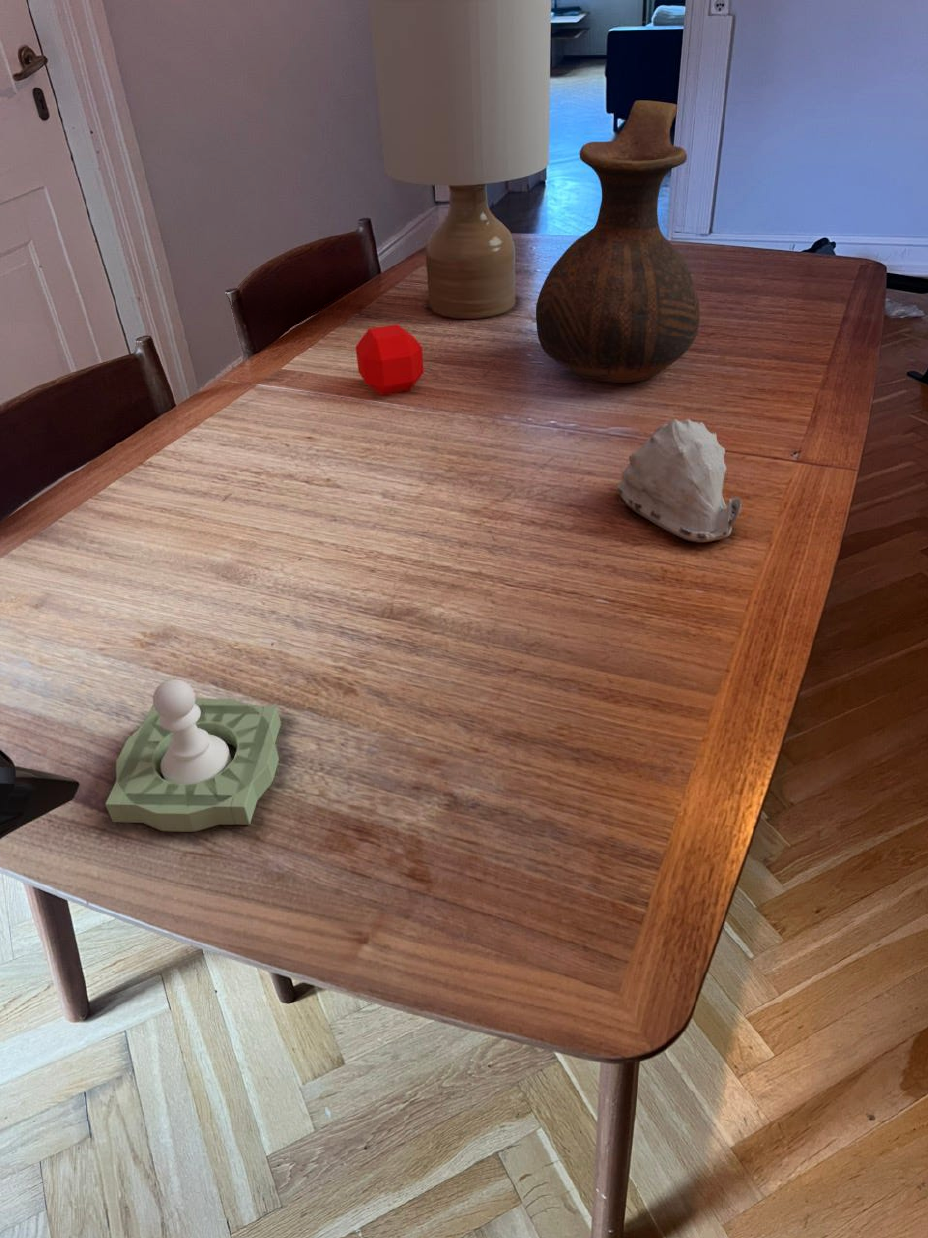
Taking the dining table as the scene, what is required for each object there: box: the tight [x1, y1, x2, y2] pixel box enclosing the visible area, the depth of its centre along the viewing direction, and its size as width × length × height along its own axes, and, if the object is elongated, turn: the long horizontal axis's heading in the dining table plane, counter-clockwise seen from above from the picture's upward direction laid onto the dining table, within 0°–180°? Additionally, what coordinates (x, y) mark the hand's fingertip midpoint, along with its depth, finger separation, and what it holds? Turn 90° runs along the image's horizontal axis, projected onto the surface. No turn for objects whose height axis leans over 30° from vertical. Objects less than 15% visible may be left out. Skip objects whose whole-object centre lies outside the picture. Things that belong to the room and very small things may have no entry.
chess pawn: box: [152, 678, 233, 784], centre depth 64 cm, size 5×5×9 cm
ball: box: [355, 323, 425, 396], centre depth 117 cm, size 8×8×8 cm
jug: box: [535, 99, 701, 384], centre depth 112 cm, size 22×22×30 cm
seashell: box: [616, 417, 742, 543], centre depth 89 cm, size 12×14×10 cm
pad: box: [105, 698, 282, 833], centre depth 66 cm, size 11×11×2 cm
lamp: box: [368, 0, 552, 320], centre depth 129 cm, size 24×24×42 cm
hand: (32, 752), depth 51 cm, fingers open, 9 cm apart
